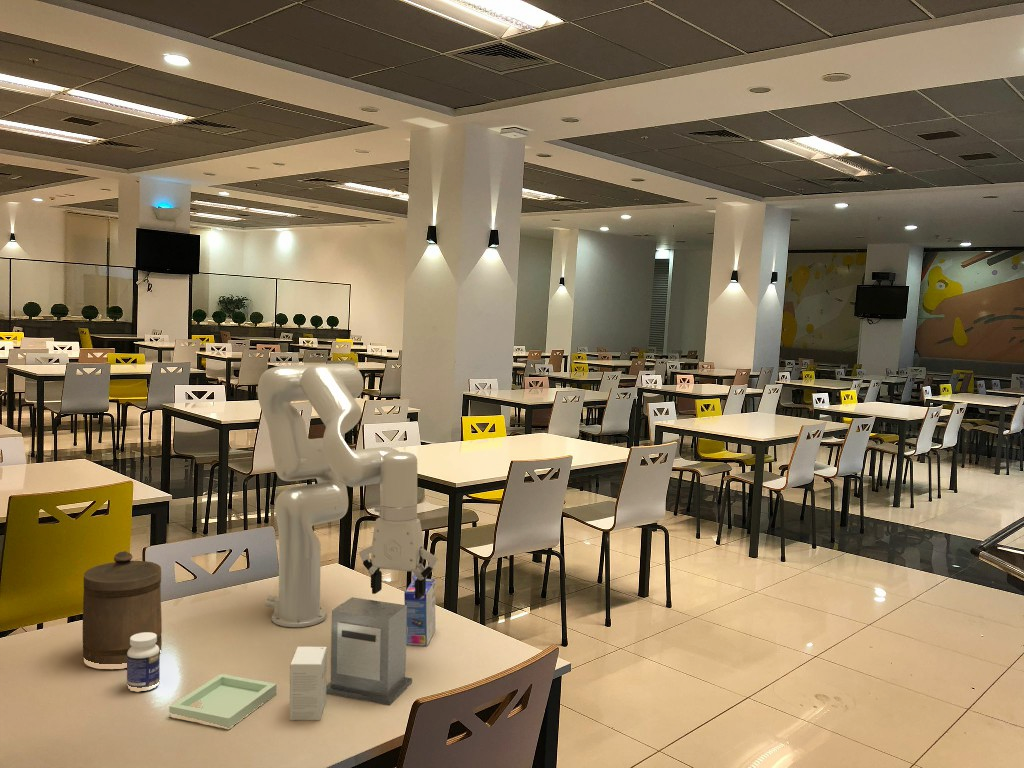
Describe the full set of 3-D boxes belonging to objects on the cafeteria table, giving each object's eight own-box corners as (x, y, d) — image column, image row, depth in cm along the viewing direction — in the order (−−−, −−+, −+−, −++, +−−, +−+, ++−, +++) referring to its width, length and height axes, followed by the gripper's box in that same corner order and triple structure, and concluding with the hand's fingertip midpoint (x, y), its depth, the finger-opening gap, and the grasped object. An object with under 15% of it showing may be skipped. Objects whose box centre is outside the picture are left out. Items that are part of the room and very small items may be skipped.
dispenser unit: (323, 692, 158) (324, 611, 156) (348, 672, 167) (349, 595, 166) (389, 705, 154) (391, 621, 152) (411, 683, 163) (413, 604, 162)
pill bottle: (155, 693, 156) (155, 641, 155) (123, 694, 155) (122, 642, 154) (163, 679, 161) (162, 630, 160) (132, 680, 160) (131, 631, 160)
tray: (169, 717, 146) (169, 706, 146) (220, 684, 160) (220, 673, 160) (229, 730, 143) (229, 718, 143) (276, 694, 156) (276, 683, 156)
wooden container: (167, 640, 180) (167, 541, 179) (153, 668, 166) (153, 561, 164) (94, 644, 177) (93, 543, 175) (73, 673, 163) (71, 564, 161)
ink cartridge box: (412, 628, 192) (413, 567, 190) (435, 630, 191) (437, 569, 190) (402, 645, 182) (404, 580, 181) (427, 646, 181) (428, 582, 180)
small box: (296, 700, 155) (297, 645, 154) (326, 700, 155) (327, 645, 154) (288, 721, 147) (289, 663, 146) (320, 720, 147) (321, 663, 146)
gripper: (351, 513, 168) (351, 595, 169) (430, 520, 163) (429, 605, 164) (369, 505, 175) (368, 584, 177) (444, 512, 170) (443, 593, 171)
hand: (398, 594), depth 170 cm, fingers open, 9 cm apart
